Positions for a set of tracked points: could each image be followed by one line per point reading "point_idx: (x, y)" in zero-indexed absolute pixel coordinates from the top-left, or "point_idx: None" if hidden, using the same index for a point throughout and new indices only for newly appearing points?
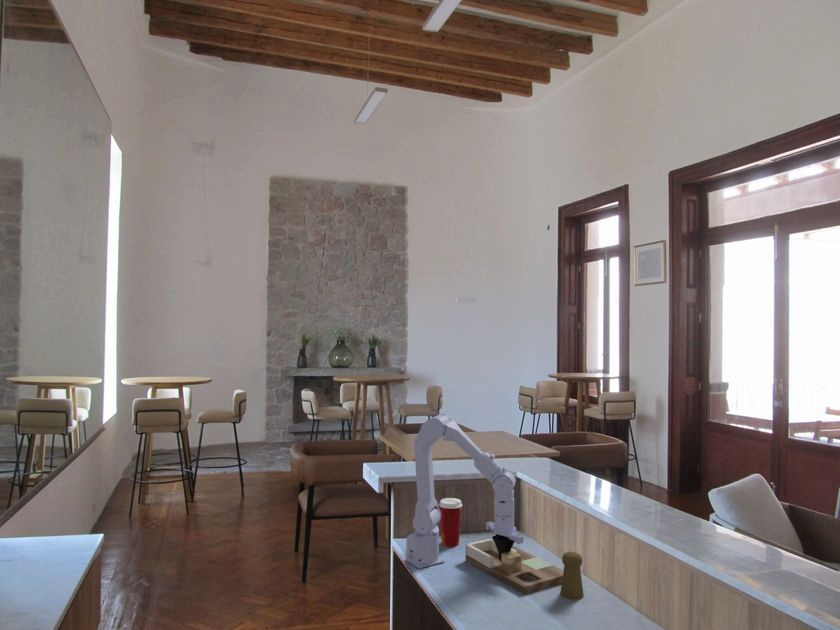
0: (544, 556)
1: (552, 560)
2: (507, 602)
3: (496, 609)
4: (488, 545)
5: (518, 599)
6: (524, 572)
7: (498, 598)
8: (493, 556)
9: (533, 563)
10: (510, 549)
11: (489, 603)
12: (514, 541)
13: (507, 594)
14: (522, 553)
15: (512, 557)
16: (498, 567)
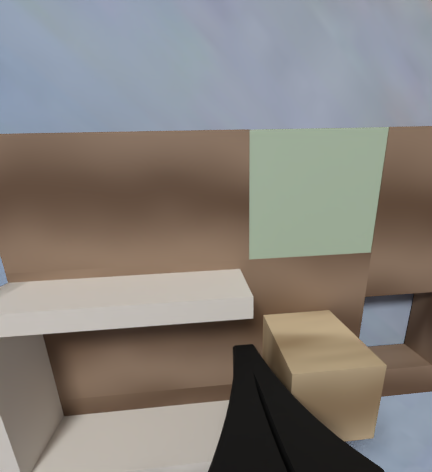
0: (179, 4)
1: (251, 8)
2: (414, 427)
3: (420, 465)
4: (14, 336)
5: (423, 394)
6: (359, 317)
7: (380, 435)
8: (129, 336)
9: (308, 210)
10: (294, 400)
11: (385, 465)
12: (369, 467)
13: (380, 404)
14: (161, 169)
15: (372, 425)
16: None
